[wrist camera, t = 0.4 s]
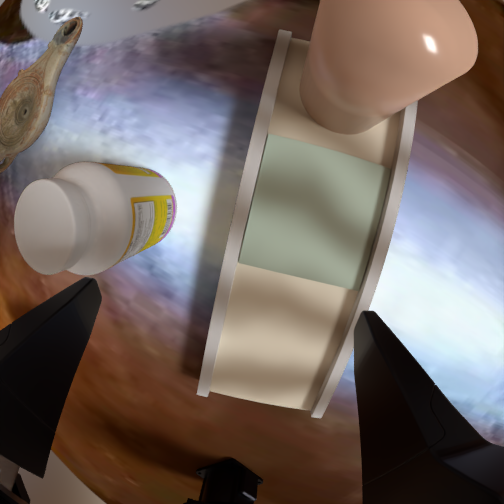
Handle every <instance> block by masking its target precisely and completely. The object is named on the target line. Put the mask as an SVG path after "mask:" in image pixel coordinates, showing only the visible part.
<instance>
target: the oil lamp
mask: <svg viewBox="0 0 504 504" xmlns="http://www.w3.org/2000/svg"><path fill="white" fill-rule="evenodd" d="M82 25H83V22H82V19H81V18H80V17H75V18H73V19H71V20H69V21H67V22H66V23H65V24H64V25H62V26H61V27H60V29H59V30H58V31H57V33H56V34H55V36H54V38H53V40H52V41H51V42H50V43H49V44H48V49H47V51H46V52H45V53H44V54H43V55H42V56H41V57H40V58H39V59H38V60H37V61H36V62H35V63H34V64H32V65H31V66H30V67H29V68H27V69H26V70H25V71H24V70H23V69H21V70H20V71H19V72H18V76H17V77H16V78H15V79H14V80H13V81H12V82H11V83H10V84H9V85H8V87H7V88H6V89H5V91H4V93H3V94H2V96H1V98H0V162H1V161H2V160H3V159H4V158H5V160H4V162H3V163H2V164H1V165H0V173H1V172H3V171H4V170H6V169H7V168H8V167H9V165H10V164H11V163H12V162H13V160H14V159H15V157H16V156H17V154H18V153H19V152H22V151H24V150H25V149H27V148H28V147H30V146H31V145H32V144H33V143H34V142H35V141H36V140H37V138H38V137H39V136H40V134H41V133H42V132H43V130H44V129H45V127H46V125H47V123H48V120H49V118H50V114H51V110H52V105H53V100H54V93H55V88H56V84H57V81H58V78H59V75H60V73H61V70H62V68H63V66H64V64H65V62H66V60H67V59H68V57H69V55H70V53H71V51H72V50H73V48H74V46H75V44H76V43H77V41H78V38H79V37H80V34H81V31H82Z"/></svg>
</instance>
